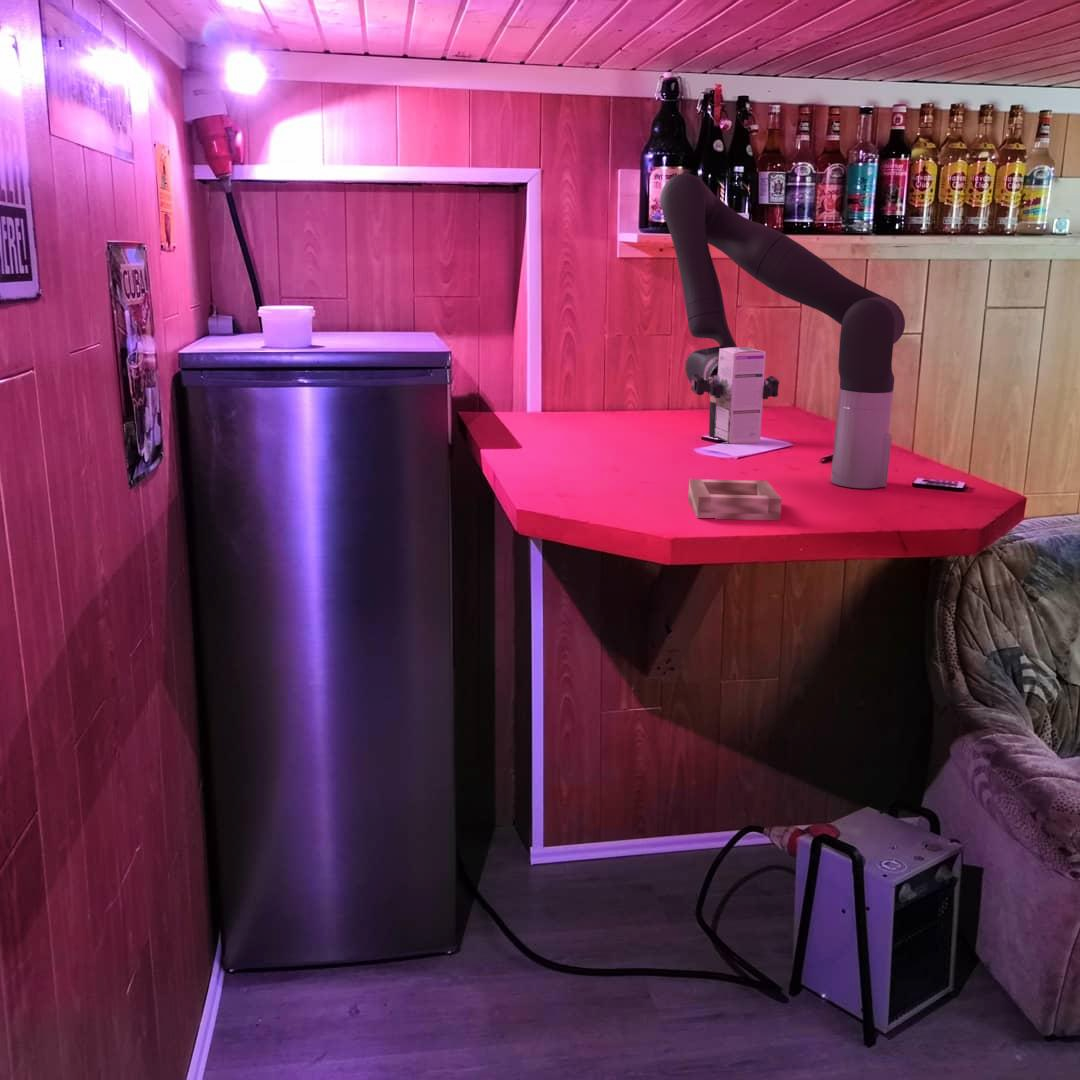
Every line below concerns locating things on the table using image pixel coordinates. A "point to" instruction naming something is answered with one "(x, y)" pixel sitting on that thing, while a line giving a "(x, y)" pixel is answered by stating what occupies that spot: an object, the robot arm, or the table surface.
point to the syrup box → (740, 395)
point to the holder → (734, 499)
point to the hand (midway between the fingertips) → (742, 392)
